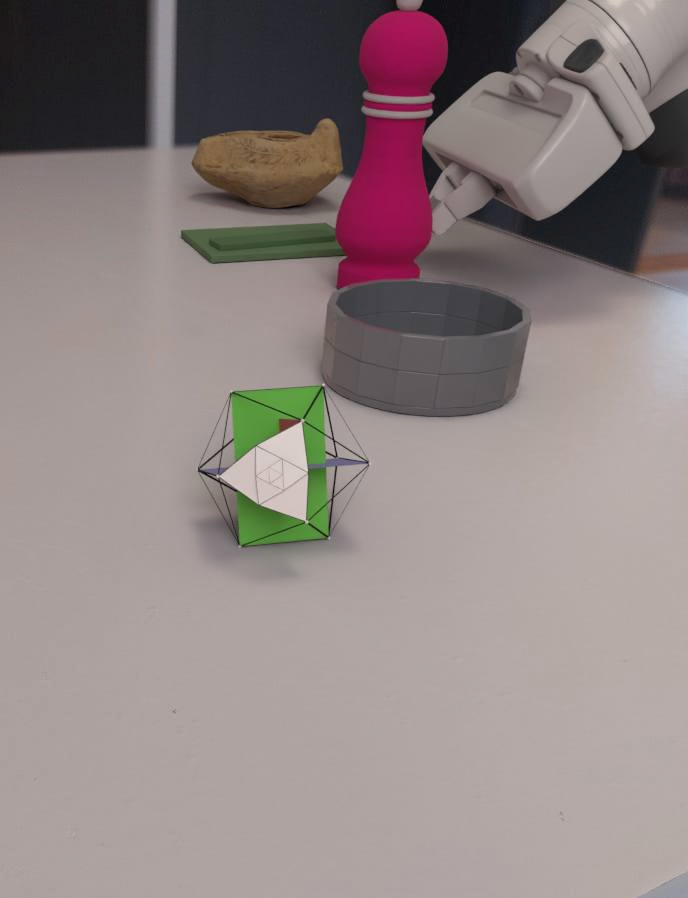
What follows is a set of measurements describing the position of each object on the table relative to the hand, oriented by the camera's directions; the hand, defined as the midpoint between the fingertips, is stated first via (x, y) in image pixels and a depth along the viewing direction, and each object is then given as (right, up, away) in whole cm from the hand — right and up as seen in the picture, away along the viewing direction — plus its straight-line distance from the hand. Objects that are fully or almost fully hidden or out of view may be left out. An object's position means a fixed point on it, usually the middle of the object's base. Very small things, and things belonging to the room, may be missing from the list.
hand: (425, 225), depth 78 cm
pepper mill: (-3, -4, +2) cm, 6 cm away
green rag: (-11, +3, +12) cm, 16 cm away
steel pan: (-4, -15, -15) cm, 22 cm away
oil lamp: (-11, +13, +26) cm, 31 cm away
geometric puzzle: (-13, -27, -31) cm, 43 cm away
